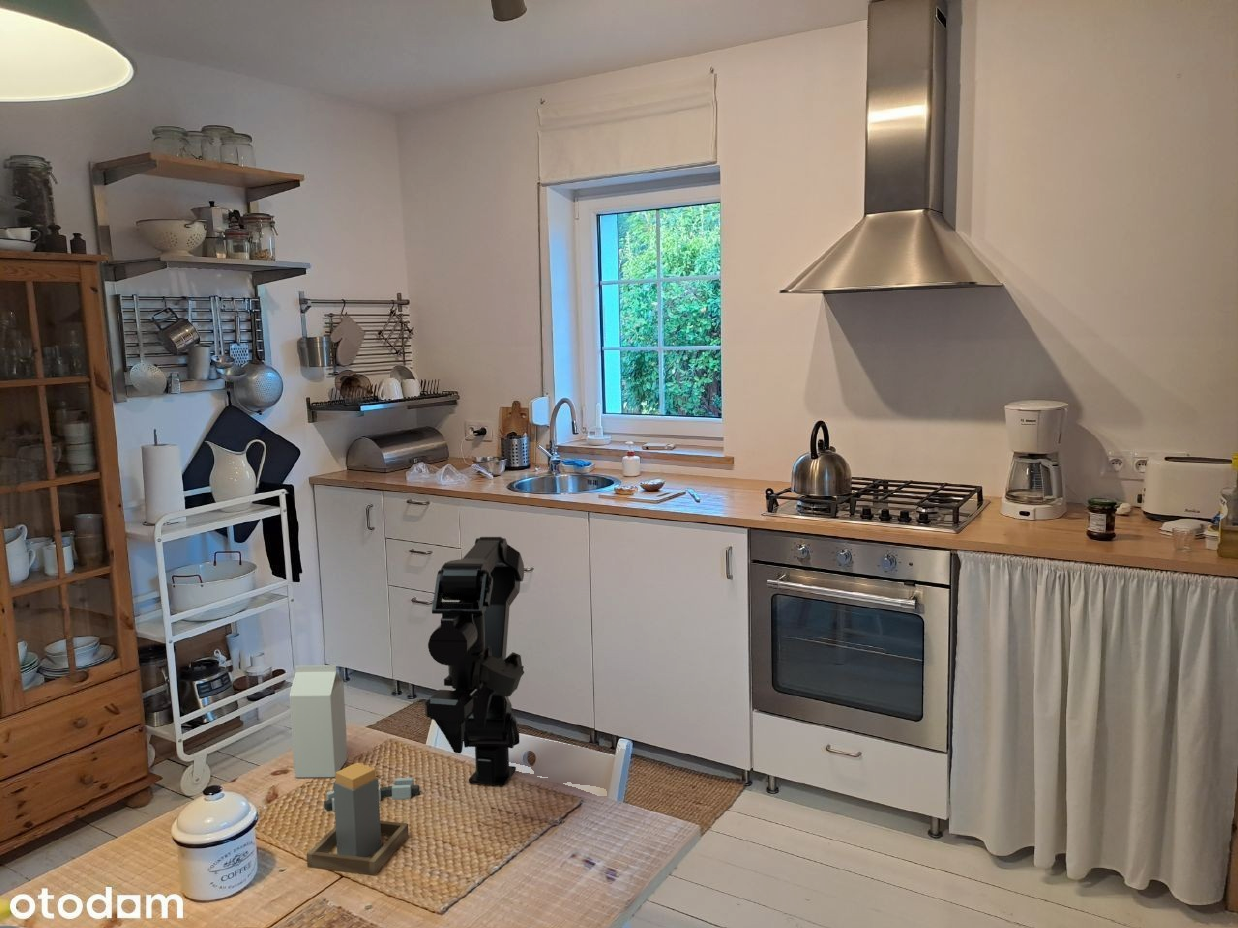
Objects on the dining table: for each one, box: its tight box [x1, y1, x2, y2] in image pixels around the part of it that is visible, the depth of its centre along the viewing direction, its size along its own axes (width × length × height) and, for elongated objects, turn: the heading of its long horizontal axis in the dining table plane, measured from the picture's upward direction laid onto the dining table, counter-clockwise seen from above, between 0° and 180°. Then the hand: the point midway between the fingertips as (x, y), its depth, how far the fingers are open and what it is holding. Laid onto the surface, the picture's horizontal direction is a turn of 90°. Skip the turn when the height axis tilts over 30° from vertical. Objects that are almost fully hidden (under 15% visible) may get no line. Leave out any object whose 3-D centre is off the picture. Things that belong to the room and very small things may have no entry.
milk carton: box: [289, 664, 348, 778], centre depth 158 cm, size 7×7×19 cm
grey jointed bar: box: [323, 777, 421, 813], centre depth 148 cm, size 4×15×2 cm, turn 110°
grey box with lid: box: [332, 762, 383, 858], centre depth 132 cm, size 4×4×12 cm
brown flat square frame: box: [306, 820, 410, 876], centre depth 133 cm, size 11×11×2 cm
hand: (469, 739), depth 140 cm, fingers open, 9 cm apart
